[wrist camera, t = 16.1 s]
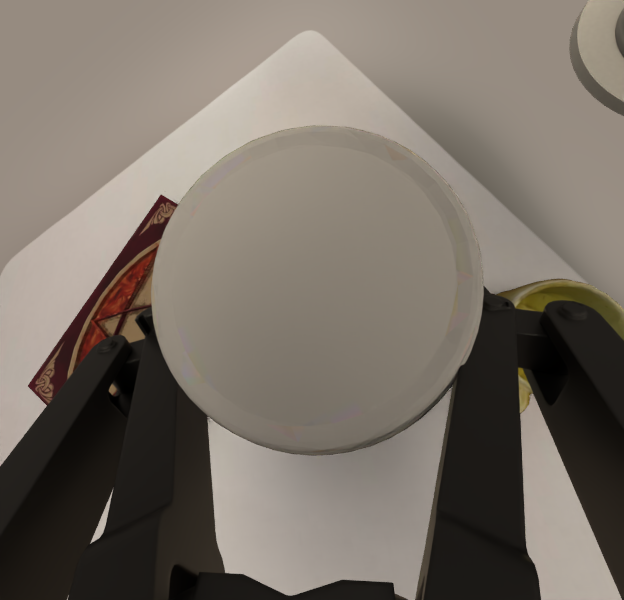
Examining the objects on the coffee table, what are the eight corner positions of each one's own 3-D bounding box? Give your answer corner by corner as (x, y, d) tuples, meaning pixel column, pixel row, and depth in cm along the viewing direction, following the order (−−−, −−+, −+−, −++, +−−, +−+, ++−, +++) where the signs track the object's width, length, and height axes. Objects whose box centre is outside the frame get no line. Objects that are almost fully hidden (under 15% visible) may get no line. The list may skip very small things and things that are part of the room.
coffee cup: (247, 355, 19) (83, 366, 8) (299, 237, 20) (225, 84, 8) (374, 414, 17) (417, 552, 6) (424, 281, 18) (551, 161, 7)
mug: (508, 252, 28) (602, 256, 18) (569, 323, 29) (690, 363, 19) (413, 330, 30) (451, 371, 20) (473, 393, 31) (536, 461, 21)
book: (174, 205, 38) (147, 184, 33) (297, 279, 33) (286, 267, 28) (54, 380, 36) (6, 385, 31) (164, 487, 31) (127, 512, 26)
